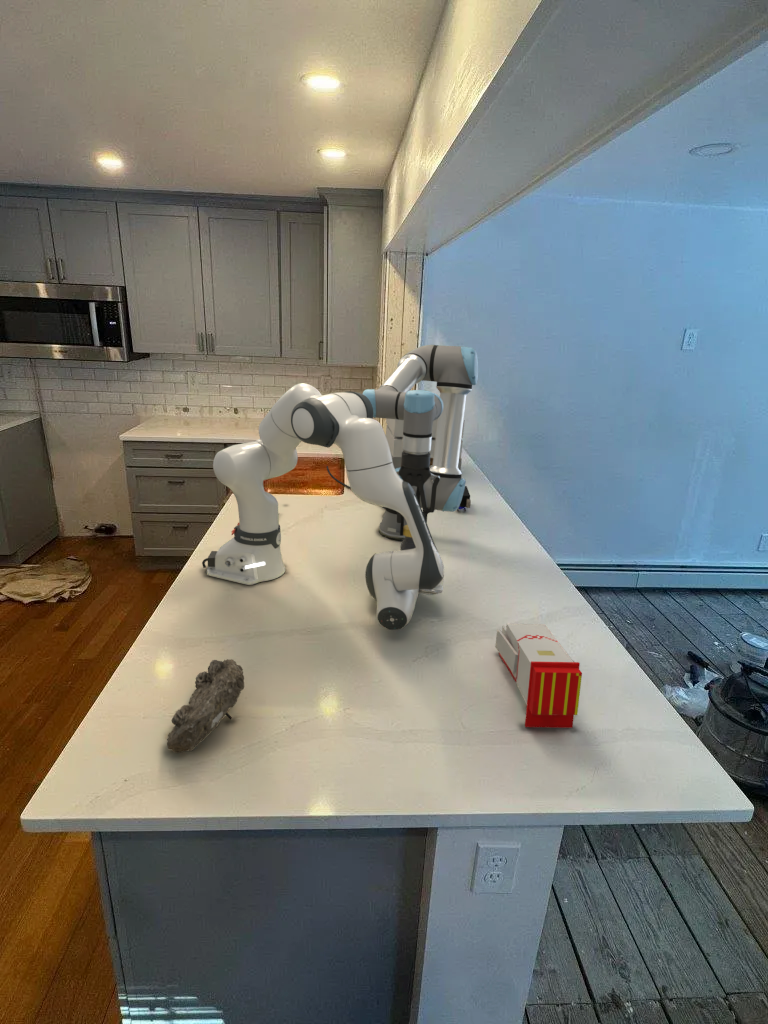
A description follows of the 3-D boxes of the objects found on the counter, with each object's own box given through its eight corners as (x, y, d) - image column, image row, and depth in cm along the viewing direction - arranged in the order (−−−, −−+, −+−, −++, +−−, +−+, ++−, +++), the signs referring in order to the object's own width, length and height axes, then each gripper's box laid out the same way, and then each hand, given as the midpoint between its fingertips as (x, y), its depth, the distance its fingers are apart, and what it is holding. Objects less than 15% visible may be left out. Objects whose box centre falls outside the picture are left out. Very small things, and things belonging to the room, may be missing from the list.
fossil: (192, 660, 117) (244, 628, 112) (224, 691, 120) (276, 661, 115) (142, 746, 98) (202, 712, 93) (182, 779, 101) (242, 748, 96)
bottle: (395, 585, 163) (399, 527, 157) (413, 584, 164) (417, 526, 158) (401, 594, 158) (404, 534, 152) (419, 592, 159) (423, 533, 153)
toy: (542, 608, 134) (591, 669, 104) (537, 660, 136) (583, 734, 107) (491, 607, 133) (526, 668, 104) (487, 660, 136) (520, 733, 107)
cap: (399, 532, 156) (400, 525, 155) (414, 530, 158) (414, 523, 157) (407, 538, 152) (408, 531, 152) (422, 536, 154) (422, 529, 154)
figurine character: (470, 516, 223) (465, 500, 237) (473, 499, 220) (467, 484, 233) (453, 516, 223) (449, 500, 236) (455, 498, 220) (451, 483, 233)
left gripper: (443, 582, 144) (447, 560, 157) (364, 573, 147) (374, 552, 160) (441, 604, 146) (445, 581, 159) (363, 595, 149) (373, 572, 162)
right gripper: (449, 450, 150) (443, 532, 158) (384, 445, 152) (380, 527, 160) (449, 457, 143) (442, 542, 151) (381, 452, 145) (377, 537, 152)
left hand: (409, 566), depth 159 cm, fingers closed on bottle, 5 cm apart
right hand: (411, 534), depth 155 cm, fingers closed on cap, 4 cm apart
